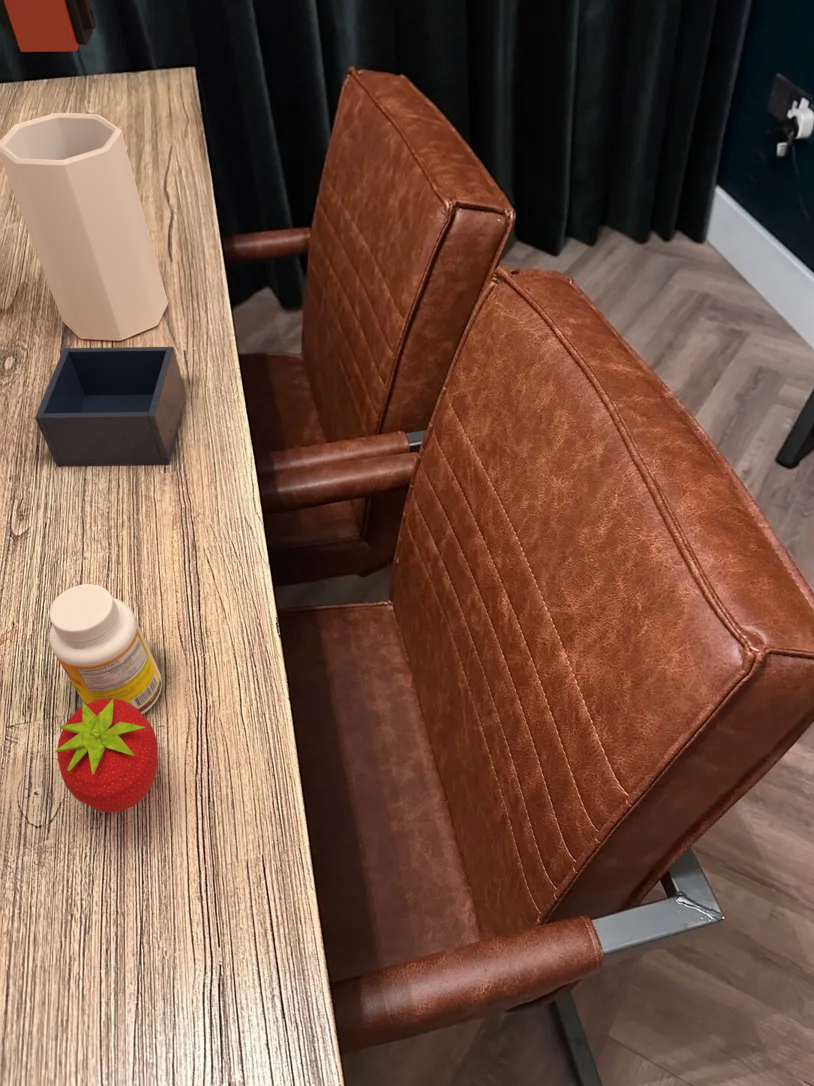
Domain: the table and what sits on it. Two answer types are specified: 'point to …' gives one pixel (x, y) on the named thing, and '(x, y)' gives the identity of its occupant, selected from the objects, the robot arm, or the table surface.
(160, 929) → the table surface
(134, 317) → the cup
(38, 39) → the red block
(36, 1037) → the table surface
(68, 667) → the supplement bottle
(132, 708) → the strawberry
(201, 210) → the table surface
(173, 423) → the navy tray box
